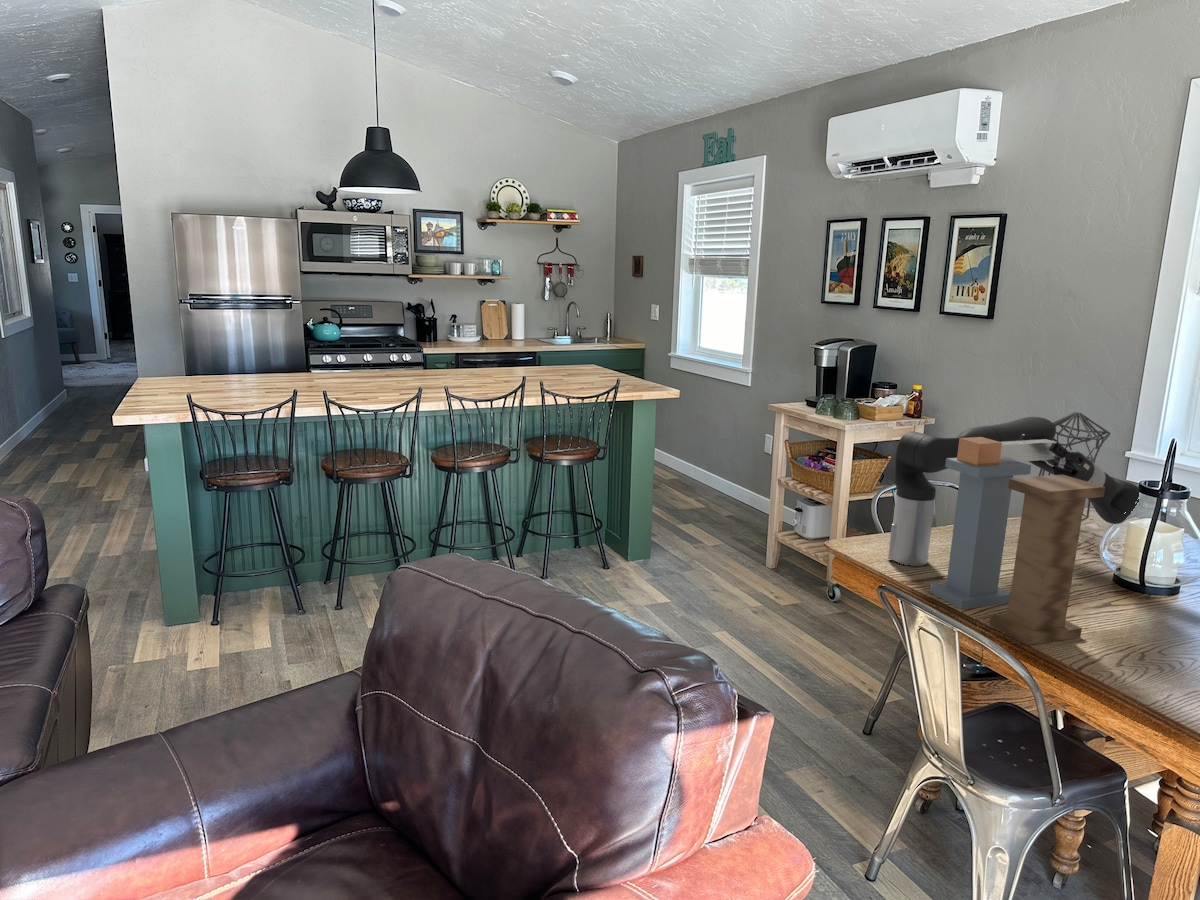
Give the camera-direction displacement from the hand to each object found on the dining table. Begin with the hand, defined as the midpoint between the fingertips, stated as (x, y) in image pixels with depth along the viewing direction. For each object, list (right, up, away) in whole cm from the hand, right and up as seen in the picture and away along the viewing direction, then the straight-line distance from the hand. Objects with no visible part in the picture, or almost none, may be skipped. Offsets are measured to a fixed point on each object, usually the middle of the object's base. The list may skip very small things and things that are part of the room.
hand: (1036, 441), depth 182 cm
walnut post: (-7, -40, -13) cm, 42 cm away
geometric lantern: (+36, -25, +55) cm, 71 cm away
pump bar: (-7, -4, -1) cm, 8 cm away
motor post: (-13, -36, +4) cm, 38 cm away
